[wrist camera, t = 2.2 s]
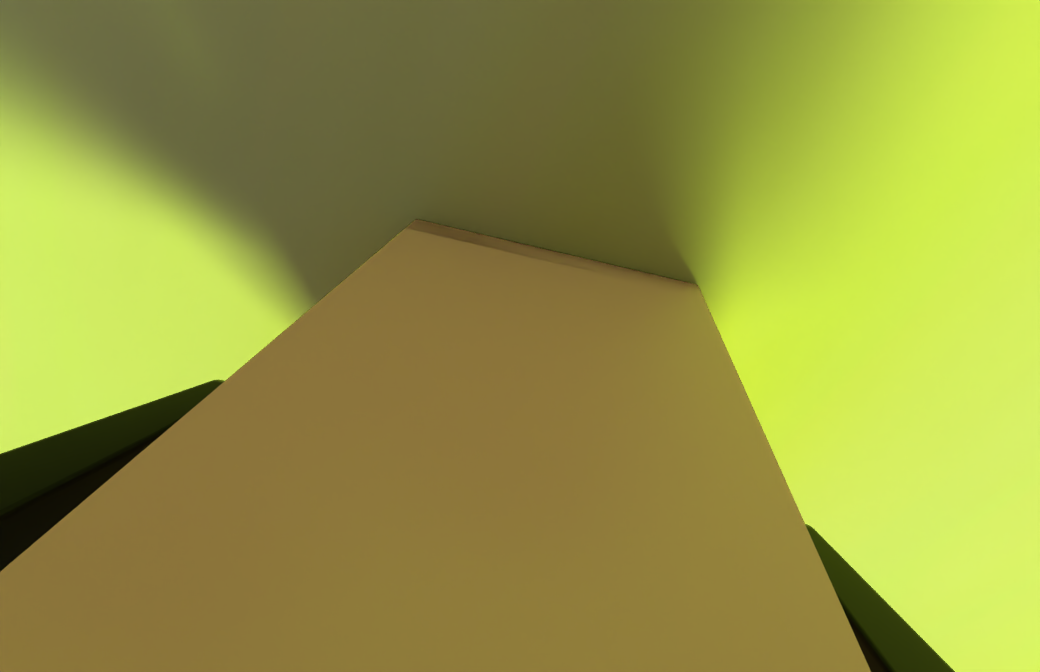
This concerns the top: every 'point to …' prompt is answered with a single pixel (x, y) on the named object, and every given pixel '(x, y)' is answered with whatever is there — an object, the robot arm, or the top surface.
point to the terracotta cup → (449, 494)
